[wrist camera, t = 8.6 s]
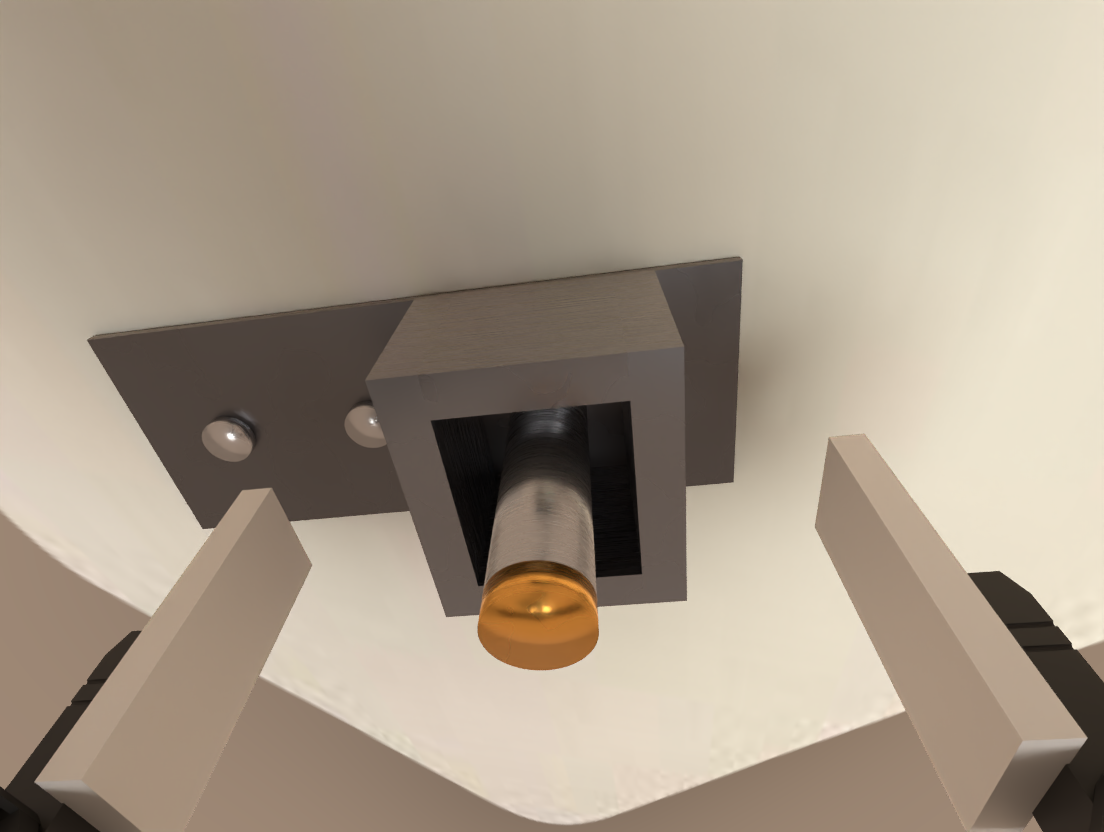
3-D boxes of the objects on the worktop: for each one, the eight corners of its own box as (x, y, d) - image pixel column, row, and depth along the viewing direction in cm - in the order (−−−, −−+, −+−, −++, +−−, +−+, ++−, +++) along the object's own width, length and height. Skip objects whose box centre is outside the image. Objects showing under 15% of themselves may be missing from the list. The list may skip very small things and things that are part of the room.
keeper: (93, 335, 18) (-249, 544, 11) (740, 256, 17) (889, 438, 9) (206, 523, 23) (20, 769, 15) (731, 476, 21) (827, 729, 13)
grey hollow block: (415, 298, 17) (364, 380, 13) (654, 270, 16) (684, 346, 12) (470, 504, 21) (446, 616, 17) (662, 487, 21) (686, 600, 16)
